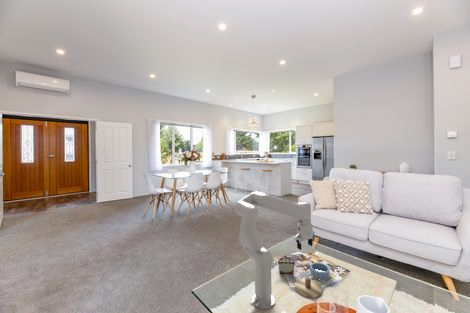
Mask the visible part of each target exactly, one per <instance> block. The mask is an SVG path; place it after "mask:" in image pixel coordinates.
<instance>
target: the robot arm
mask: <svg viewBox="0 0 470 313" xmlns="http://www.w3.org/2000/svg"><path fill="white" fill-rule="evenodd" d="M311 206H312V205H311V203H310V202H308V201H300V202H291V201H289V200H287V199H284V198H281V197H277V196H274V195H272V194H268V193H265V192H261V191H253V192H251V193H249V194H247V195H246V196H245V197H243V198H241V199H240V200H239V201H237V202H236V203H235V205H234V211H235V214H236V215H237V216H240V217H241V218H242V219H241V222H240V224H239V225H240V226H239V231H240V232H239V235H238V238H239V239H238V240H239V242H240V244H241V246H242V247H243V250H244V251H245V253H246V254H247V256H248V257H249V258H250V259H251V260H252V261H254V263H255V264H256V265H255V268H254V295H253V296H252V301H251V302H250V306H251V307H254V306H255V307H256V308H258V309H261V310H268V309H271V308H272V307H274V305H275V297H274V295H273V292H272V264H273V258H274V257H273V255H272V252H271V251H270V250H269V249H267V248H266V247H265V246H263V245H264V243H263V239H262V237H261V235H260V233H259V231H258V230H257V228H256V222H257V220H258V217H259V210H258V208H257V207H259V208H260V209H263V210H267V211H270V212H274V213H279V214H281V215H286V216H290V217H294V218H297V219H298V221H297V228H296V229H297V230H296V235H295V236H294V237H293V239H294V241H295V242H296V247H297V249H298V250H300V251H301V250H302V242H305V241H307V245H308V246H311V247H313V240H314V237H315V234H316V232H315V231H314V228H313V223H312V217H311V216H312V210H311V209H312V208H311Z"/></svg>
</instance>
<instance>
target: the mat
mask: <svg viewBox="0 0 470 313" xmlns="http://www.w3.org/2000/svg"><path fill="white" fill-rule="evenodd" d="M321 288H322V294H323V293H324V291H325V290H326V289H327V288H326V287H325V286H323V287H321ZM289 291H292V292H294V293H296V294H299V293H298V292H297V291H296V290H295V287H293V286H291V288H290V290H289ZM299 295H300V294H299ZM303 297H304V298H306V299H308V300H310V301H312V302H314V303H316V302H317V301H318V300H319V298H320V297H321V295H320V296H319V297H316V298H308V297H305V296H303Z"/></svg>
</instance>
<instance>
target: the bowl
mask: <svg viewBox="0 0 470 313" xmlns="http://www.w3.org/2000/svg"><path fill="white" fill-rule="evenodd" d="M309 265H310V266H309V268H310V269H309V270H310V271H309V273H311V274H310V276H311V275H312V276H313V277H314V278H316V279H315V280H317V279H320V280H325V281H327V280H326V279H328V278H329V277H331V276H330V275H331V271H330V266H328V265H327V264H325V263H322V262H312V263H311V264H309ZM315 269H318V270H322V271H325V272H318V271H316V270H315ZM312 276H311V277H312ZM313 277H312V278H313ZM314 278H313V279H314ZM329 279H330V278H329ZM329 279H328V280H329ZM320 280H319V281H320Z"/></svg>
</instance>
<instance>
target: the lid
mask: <svg viewBox="0 0 470 313" xmlns="http://www.w3.org/2000/svg"><path fill="white" fill-rule="evenodd" d="M304 278H305V279H300V278H299V279H298V280H296V281H295V282H294V285H295V290H296V291H297V292H298V293H299V295H300V296H302V297H304V296H305V297H304V298H306V297H308V298H316V297H319V296H320V297H321V295H322V294H323V293H322V288H321V286H322V285H321V284H319V283H318V282H317V281H315V280H312V279H311V278H310V277H304ZM320 285H321V286H320ZM298 293H297V294H298ZM320 297H319V298H320ZM308 298H307V299H308Z"/></svg>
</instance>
